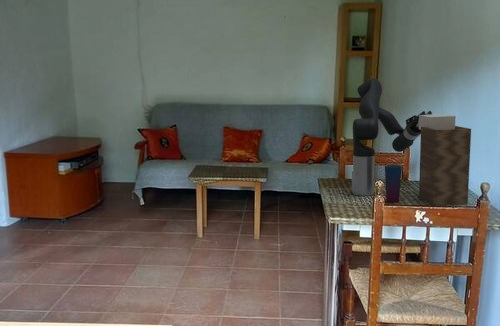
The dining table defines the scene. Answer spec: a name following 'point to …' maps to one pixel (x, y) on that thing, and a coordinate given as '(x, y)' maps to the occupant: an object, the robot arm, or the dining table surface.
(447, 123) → the caddy
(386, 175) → the cup
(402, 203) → the dining table surface
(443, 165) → the cabinet
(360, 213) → the dining table surface
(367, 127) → the robot arm
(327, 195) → the dining table surface
